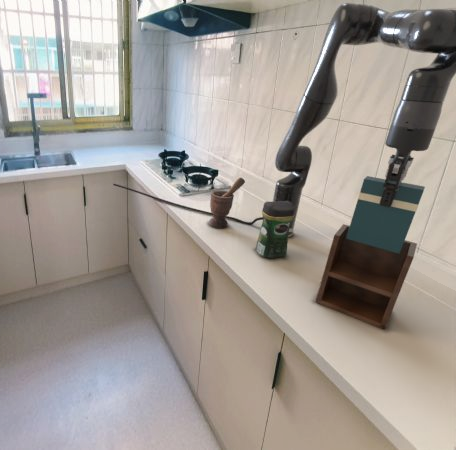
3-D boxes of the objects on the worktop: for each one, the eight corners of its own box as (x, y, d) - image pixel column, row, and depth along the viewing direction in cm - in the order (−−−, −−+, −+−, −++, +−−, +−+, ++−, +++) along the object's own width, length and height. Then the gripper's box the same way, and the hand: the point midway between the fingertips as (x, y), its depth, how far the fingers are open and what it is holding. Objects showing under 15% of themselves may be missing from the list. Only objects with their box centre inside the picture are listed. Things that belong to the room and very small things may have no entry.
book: (345, 238, 82) (363, 178, 76) (349, 234, 84) (366, 175, 78) (399, 254, 75) (424, 190, 69) (401, 248, 78) (425, 186, 72)
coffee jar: (277, 247, 119) (287, 197, 111) (289, 258, 112) (301, 205, 104) (251, 248, 117) (260, 198, 109) (262, 260, 110) (272, 206, 102)
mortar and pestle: (231, 219, 140) (237, 172, 132) (240, 228, 132) (247, 179, 124) (204, 221, 138) (210, 173, 130) (212, 229, 130) (218, 179, 122)
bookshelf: (315, 302, 90) (334, 234, 82) (324, 287, 96) (343, 224, 88) (384, 329, 81) (413, 257, 73) (389, 312, 87) (417, 243, 79)
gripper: (396, 120, 76) (372, 192, 83) (386, 125, 66) (361, 207, 73) (437, 124, 72) (409, 200, 79) (434, 130, 62) (402, 217, 69)
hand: (386, 203), depth 76 cm, fingers closed on book, 3 cm apart
